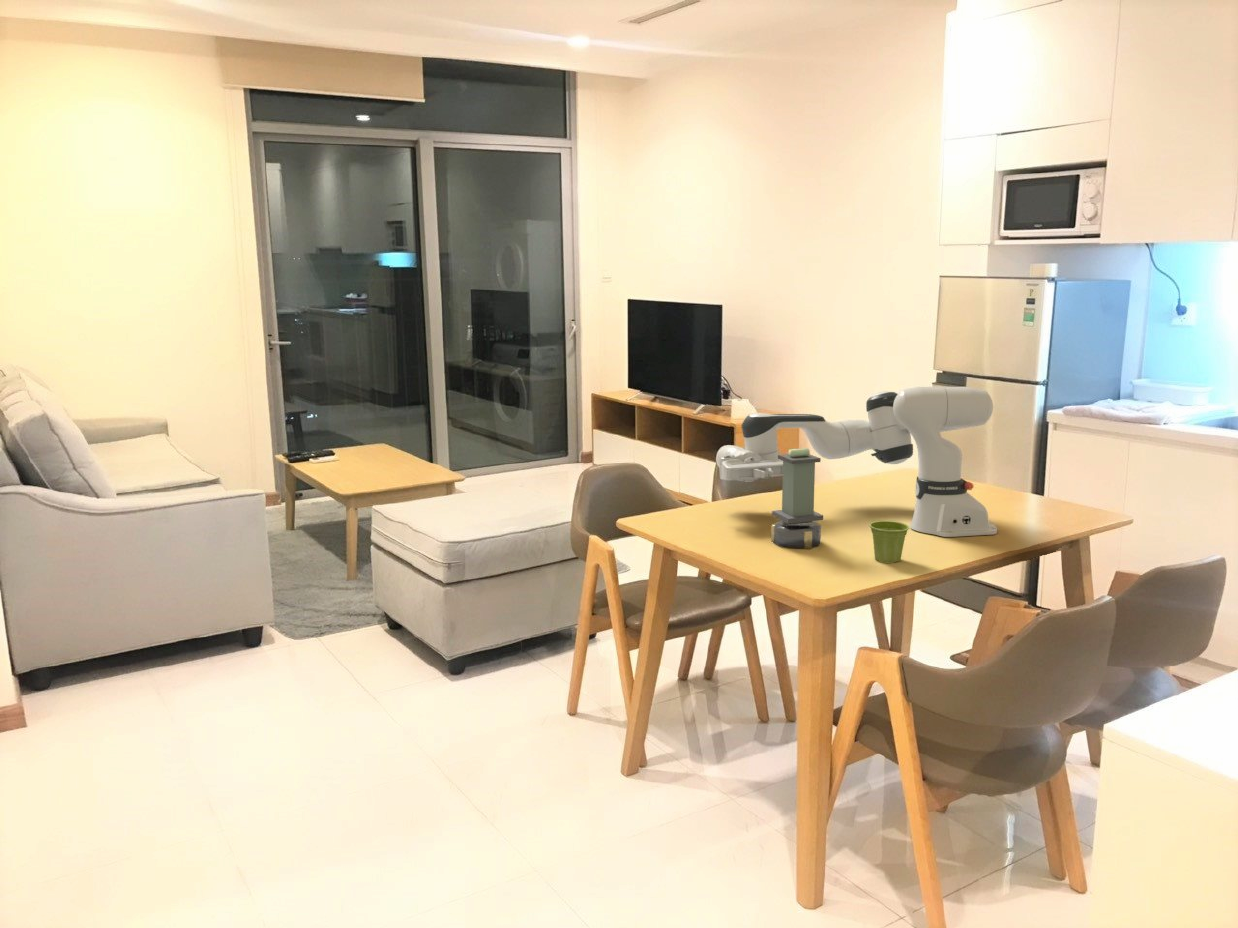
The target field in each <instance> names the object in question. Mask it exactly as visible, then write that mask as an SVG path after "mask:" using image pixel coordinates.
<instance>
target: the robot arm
mask: <svg viewBox="0 0 1238 928" xmlns="http://www.w3.org/2000/svg"><path fill="white" fill-rule="evenodd" d="M865 407H866V412H867V416H868V421H867V420H865V419H863V420H862V419H860V420H859V419H854V420H853V419H851V420H850V419H849V420H842V421H837V422H830V421H827V420H826V419H825V418H824V417H823V415H817V414H807V413H784V414H783V413H779V414H778V413H777V414H776V413H774V414H773V413H766V412H754V413H750V414H748V415H747V416H746V417H745V418H744V420H743V422H742V423H741V425H740V426H741V430H742V432H741V433H742V436H743V440H744V441H743V442H744V447H741V446H737V445H733V444H732V445H731V444H727V445H723V446H721V447H720V448H719V449H718V451H717V452H716V457H715V460H716V464H717V466H718V468H719V478H720V480H721V481H722V480H723V481H739V482H746V483H751V482H752V483H753V482H755V481H756V480H758V479H771V478H773V477H774V478H775V477H783V460H780V459H778V455H780V454H779V453H780V451H779V447H778V438H777V437H778V436H777V435H778V434H777V432H778V429H801V430H802V431H803V432H804V433H805V435H806V437H807V438H808V441H809V444H810V445H811V447H812V449H813V451H815V453H817V454H818V456H820V457H822V458H823V459H826V460H837V459H838V460H839V459H844V458H848V457H851V456H855V455H859V454H861V453H864V452H866V451H870V450H873V451H874V453H871V454H870V455H871V457H875V458H876V459H877V460H878V461H879V462H882V463H883V464H888V465H899V464H903V463H904V462H906V461H907V460H909V459H910V458H912V456H913V455H914V445H913V444H912V437H913V440H914V442H915V445H916V448H917V456H918V458H917V459H918V475H917V476H916V482H915V493H914V494H915V497H916V499H915V500H916V501H915V506H914V507H915V508H914V510H913V511H914V512H913V516H912V518H911V519H912V520H911V522H910V525H909V529H912V530H913V531H917V532H920V533H923V534H929V535H935V536H938V537H939V536H940V537H944V538H952V537H970V536H972V537H973V536H985V535H988V536H989V535H997V533H998V528H997V526H996V525H995V524H994V523H992V522H990V518H989V512H988V509H987V508H986V507H985V506H984V505H983V504H982V503H981V502H980V501H979V500H978V499H976V498H975V497H974V496H972V495H971V494H970V493H969V492H968V491H973V489H974V487H975V486H974V484H973V483H972V482H970V481H967V480H965V479H964V478H962V461H963V460H962V459H963V454H962V453H963V452H962V451H961V448H960V447H959V446H958V445H957V444H955V443H954V442H952V441H950V440H948V439H946V438H944V437H942V435H941V432H950V431H955V430H963V429H967V428H972V427H974V428H975V427H979V426H983V425H985V424H986V423H988V421H989V420H990V419H991V417H992V415H993V410H994V403H993V399H992V397H991V395H990V394H989V392H988V391H987V390H985V389H982V388H978V387H971V386H916V387H911V388H906V389H902V390H900V391H899V392H898V393H897V392H895V391H887V390H886V391H879V392H877V393H875V394H873V395H872V396H870V397H869V398H868V399H867V400H866V406H865ZM911 436H912V437H911Z"/></svg>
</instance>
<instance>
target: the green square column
mask: <svg viewBox="0 0 1238 928" xmlns="http://www.w3.org/2000/svg"><path fill="white" fill-rule="evenodd" d="M810 452H811V450H810V449H809V447H807V448H805V447H804V448H793V449H789V450H788V453H787V454H785V453H783V454H779V455H778V459H779V460H783V476H782V491H781V493H782V494H781V495H782V496H781V497H782V498H781V509H778V510H776V509H775V510H772V512H771V513H772V517H775V518H777V519H780V521H782V523H783V525H789V524H799V523H809V522H812V521H813V522H816V521H817V522H818V521H823V520H824V515H823V514H821V513H819V512H816V511H815V481H816V477H815V475H816V474H815V473H816V463H821V457H818V456H816V455H814V454H811V453H810Z"/></svg>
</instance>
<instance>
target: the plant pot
mask: <svg viewBox="0 0 1238 928" xmlns="http://www.w3.org/2000/svg"><path fill="white" fill-rule="evenodd" d="M869 528H870V529H871V530H870V531H871V533H872V539H873V542H872V543H873V549H874V553H873V554H874V559H875V560H876V561H879V562H881V563H887V564H893V563H896V562H900V561H901V559H902V555H903V550H904V544H905V538H906V536H907V533H908V531H909V529H910V525H909V524H907V523H903V522H901V521H900V522H899V521H895V520H894V521H893V520H892V521H891V520H880V521H879V520H876V521H872V522H871V523H869Z"/></svg>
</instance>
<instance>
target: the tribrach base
mask: <svg viewBox="0 0 1238 928" xmlns="http://www.w3.org/2000/svg"><path fill="white" fill-rule="evenodd" d="M821 527H822V525H821V524H820V523H818V521H817V522H816V521H812V522H809V523H799V524H789V525H783V523H782V520H779V521H776V522H775V523H772V524H771V531H770V534H771V535H770V538H771V539H770V542H771V543H772V542H773V544H774V545H775V546H777V547H780V548H785V549H789V550H790V549H792V550H812V549H813V548H818V547H819V546H820V545H821V534H822V528H821Z"/></svg>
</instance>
